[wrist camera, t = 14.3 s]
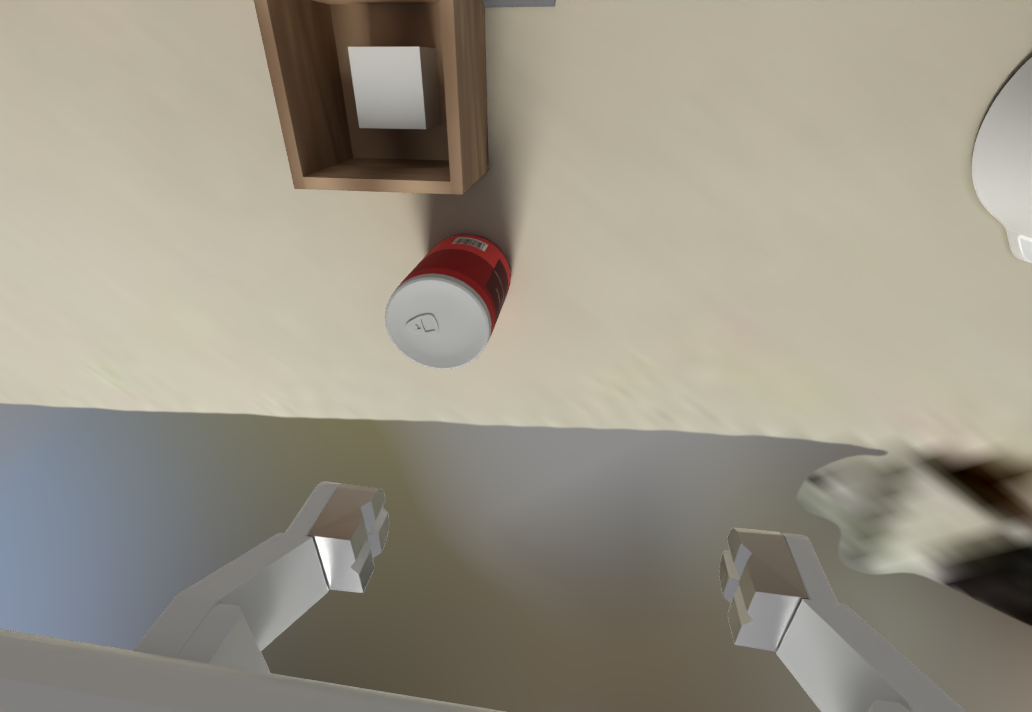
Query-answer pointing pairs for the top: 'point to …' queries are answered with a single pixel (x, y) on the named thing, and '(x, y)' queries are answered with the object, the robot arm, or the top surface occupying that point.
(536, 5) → the dark grey flat plate
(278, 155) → the top surface
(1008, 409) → the top surface
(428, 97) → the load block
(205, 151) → the top surface
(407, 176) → the crate
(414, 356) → the canned food
